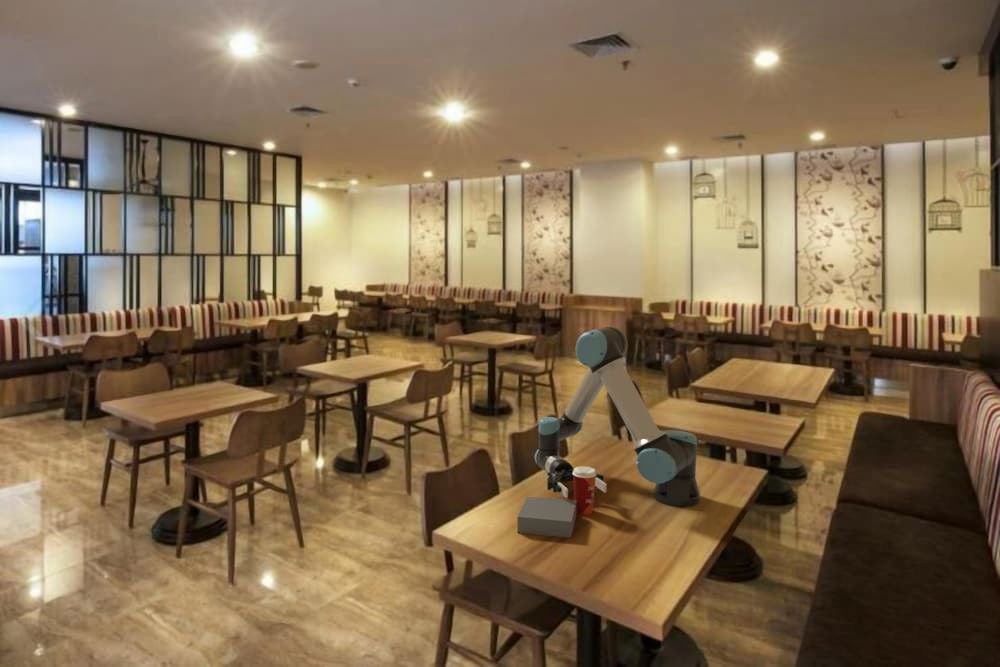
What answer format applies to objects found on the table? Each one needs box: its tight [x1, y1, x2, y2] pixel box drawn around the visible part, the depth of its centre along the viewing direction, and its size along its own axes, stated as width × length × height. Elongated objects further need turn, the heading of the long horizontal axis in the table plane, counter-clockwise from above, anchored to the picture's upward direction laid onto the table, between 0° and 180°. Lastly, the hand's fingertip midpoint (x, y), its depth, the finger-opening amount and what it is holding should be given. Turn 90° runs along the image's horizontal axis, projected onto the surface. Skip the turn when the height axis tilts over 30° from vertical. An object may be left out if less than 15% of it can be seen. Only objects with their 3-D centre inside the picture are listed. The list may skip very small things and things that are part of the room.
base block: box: [517, 496, 577, 539], centre depth 194 cm, size 16×16×5 cm
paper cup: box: [572, 465, 598, 516], centre depth 203 cm, size 8×8×14 cm
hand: (586, 491), depth 201 cm, fingers open, 13 cm apart
